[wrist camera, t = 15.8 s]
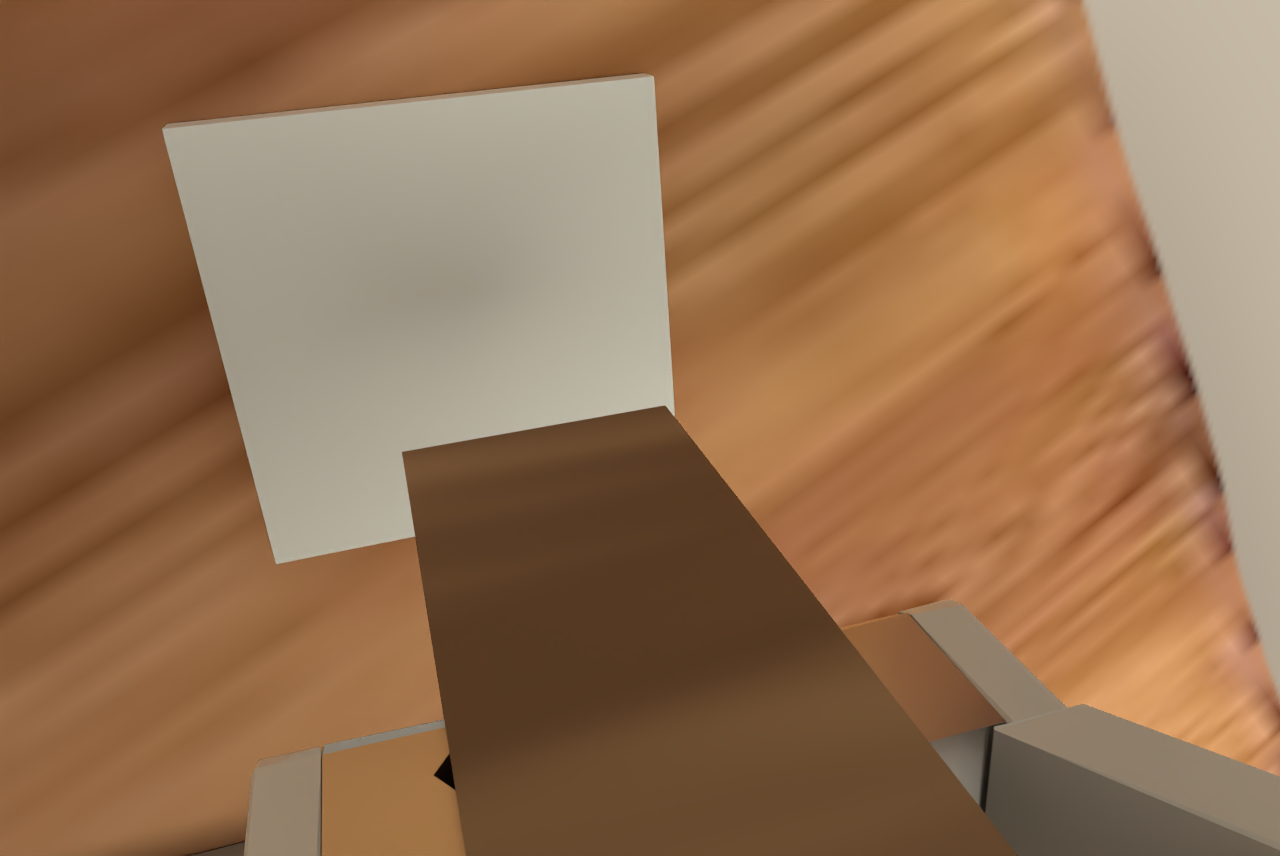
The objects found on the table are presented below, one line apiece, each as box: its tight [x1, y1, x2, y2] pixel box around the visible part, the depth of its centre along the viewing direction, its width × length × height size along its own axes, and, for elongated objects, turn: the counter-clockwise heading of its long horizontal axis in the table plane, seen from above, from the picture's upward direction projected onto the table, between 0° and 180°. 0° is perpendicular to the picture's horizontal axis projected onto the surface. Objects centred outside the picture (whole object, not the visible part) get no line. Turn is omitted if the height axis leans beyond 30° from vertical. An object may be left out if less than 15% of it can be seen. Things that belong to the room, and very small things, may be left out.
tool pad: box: [162, 73, 675, 564], centre depth 19 cm, size 8×8×1 cm
